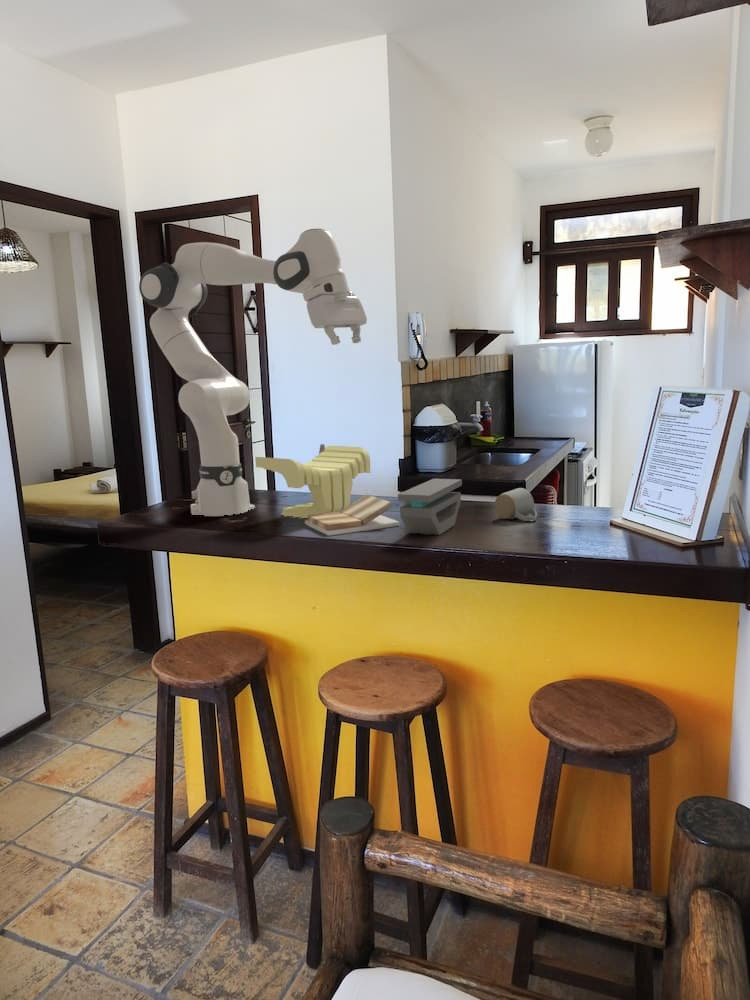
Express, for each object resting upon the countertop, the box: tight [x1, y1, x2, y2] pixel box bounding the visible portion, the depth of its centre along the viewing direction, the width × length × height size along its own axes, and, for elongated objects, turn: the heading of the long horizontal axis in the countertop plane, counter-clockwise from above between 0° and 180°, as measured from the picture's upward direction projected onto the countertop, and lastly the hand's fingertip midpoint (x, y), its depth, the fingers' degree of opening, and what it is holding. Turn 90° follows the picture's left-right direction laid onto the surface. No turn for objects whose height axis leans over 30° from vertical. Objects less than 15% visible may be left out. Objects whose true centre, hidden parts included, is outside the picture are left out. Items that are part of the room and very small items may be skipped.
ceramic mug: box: [494, 487, 538, 522], centre depth 186 cm, size 11×8×8 cm
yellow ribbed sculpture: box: [254, 445, 371, 519], centre depth 200 cm, size 30×16×18 cm, turn 143°
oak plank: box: [307, 512, 361, 531], centre depth 184 cm, size 14×9×2 cm, turn 27°
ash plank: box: [340, 493, 393, 525], centre depth 187 cm, size 14×9×2 cm, turn 27°
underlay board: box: [304, 514, 401, 536], centre depth 186 cm, size 16×20×1 cm
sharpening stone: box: [397, 478, 463, 536], centre depth 178 cm, size 25×8×11 cm, turn 156°
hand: (347, 343), depth 184 cm, fingers open, 8 cm apart
